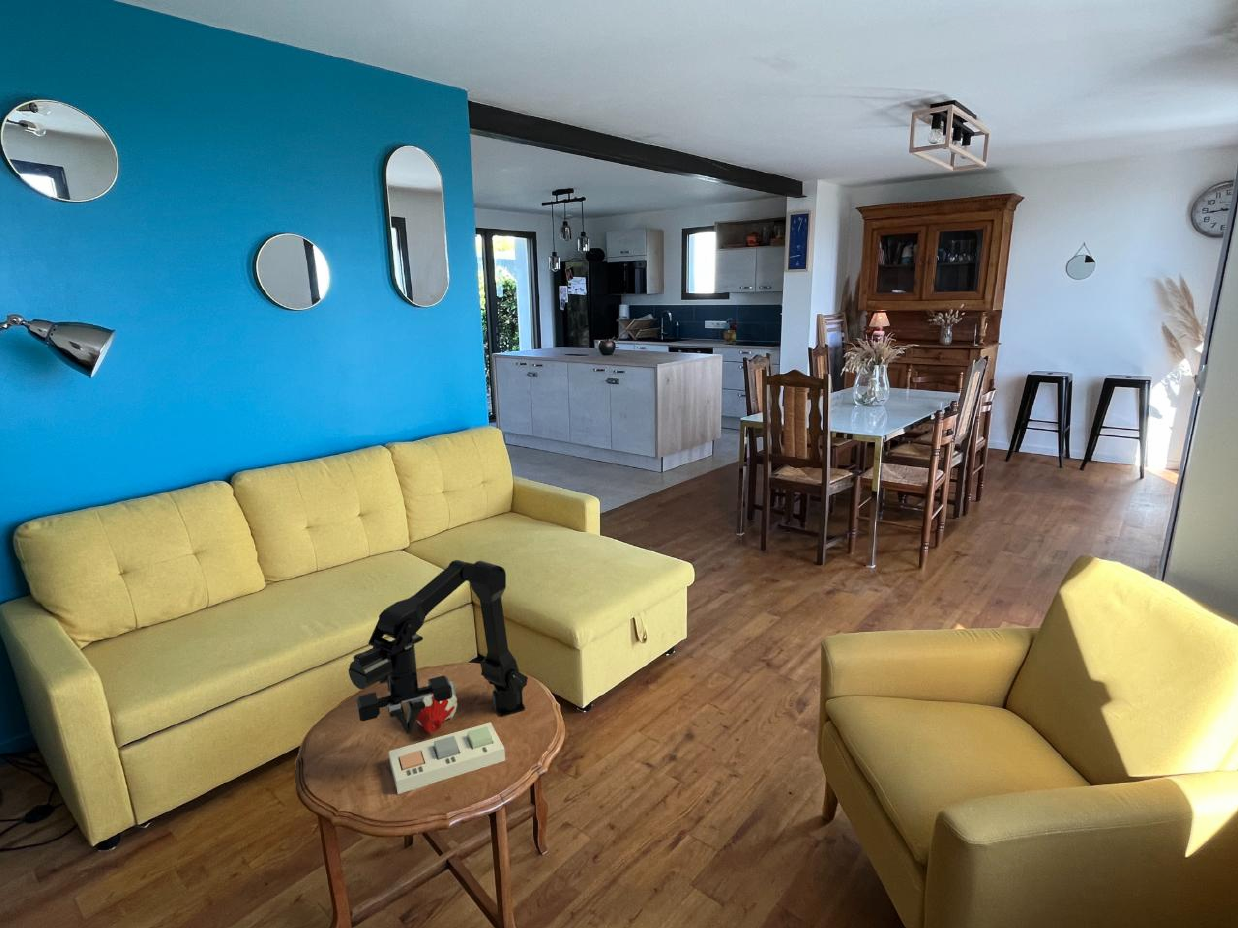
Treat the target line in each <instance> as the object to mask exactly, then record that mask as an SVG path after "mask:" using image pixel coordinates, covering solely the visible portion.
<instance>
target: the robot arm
mask: <svg viewBox="0 0 1238 928" xmlns="http://www.w3.org/2000/svg"><path fill="white" fill-rule="evenodd" d="M506 576H507V574H506V570H505V568H504V567H502V566H500V565H498V564H493V563H490V562H487V561H483V560H477V561H475V562H473V563H472V562H467V561H462V560H459V559H455V560H452V561H451V562H450V563H449V564H448V565H447V567H446V568H444V569H443V570H442V571H441V572H440V573H439V574H438V575H436V576H435V577H434V578H432V579H431V581H429V582H428V583H427V584H426V585H424V586H423V587H422V588H420V590H418V591H417V592H415V594H413V595H412V596H411V597H408V598H406V599H403V600H399V601H396V602H395V603H392V604H391V605H390V606H388V607H386V608H385V609H383V611H381V612H380V614H379V616H378V618H379V619H378V621H377V623H376V625H375V627H374V629H373V632H372V634H371V636H370V639H369V640H368V642H367V643H368V645H369V646H371V648H369V649H367V650H365V651H363V652H359V653H356V654H354V655H353V661H352V662H350V664H349V668H348V674H349V678H350V680H351V682H352V684H353V685H354V686H355V687H356V688H357V689H358V690H361V691H362V690H365V689H367V688H369V687H370V686H373V685H375V684H376V683H379V684H380V685H382V684H387V691H388V693H389V695H386V696H381V697H377V692H372V693H367V694H362V695H359V696H358V697H357V698H356V700H355V701H356V709H357V714H358V718H359V721H360V722H368V721H371V720H374V719H377V718H378V717H379V716H380V714H381V711H380V709H381V708H385V707H386V709H387V712H388V716H389V718H395V719H396V720H397V721H398V722H399V724H401V726H402V728H403V730H404V732H405V734H406V735H410V734H412V732H413V728H414V726H415V723H416V722H417V721H416V718H417V716H418V715H419V713H420V711H421V710H422V709H424V708H425V703H424V700H423V699H424V697H426V696H430V695H432V694H433V696H434V700H436V701H438V702H439V701H443V700H447V699H451V698H452V688H451V685H450V683H449V681H448V680H449V679H448V677H447V676H446V675H440V676H436V677H431V678H428V680H427V683H428V684H427V685H426V686H423V687H421V686H419V681H418V671H417V661H416V659H417V658H416V651H415V645H416V644H417V643H420V642H422V641H423V640H424V638H423V636H420V634H417V632H418V631H419V630H420V629H421V628H422V627H423V625H424V622H425V619H426V617H427V615H428V614H430V612H432V611H433V610H434V609H435V608H436V607H438V605H439V604H441V603H442V602H443V601H444V600H445V599H447V597H449V596H451V594H452V593H453V592H455V591H456V590H457V589H458V588H459V587H460V586H462V585H463V584H464V583H465V582H466V581H467V582H469V585H470V587H471V591H473V592H474V593H473V594H475V595H476V597H477V599H478V600H479V604H480V611H481V617H482V624H483V630H484V631H483V632H484V636H485V644H486V649H487V653H486V655H485V657H484V658H483V660H481V661H480V662H479V666H480V668H481V673H480V675H481V676H483V678H484V679H485V680H486V681H487V682H488V684H489V685H493V689H494V690H493V691H492V694H491V695H492V704H493V705H492V706H493V708H494V709H495V711H496V712H497V713H498V715H499V716H500V717H504V716H507V715H511V714H515V713H517V712H521V711H525V710H526V706H525V705H524V702H523V701H524V700H523V699H524V698H523V691H524V688H525V687H526V686H527V684H528V680H529V678H528V676H527V675H525V674H523V673H521V672H520V669H519V666H518V664H517V663H518V662H517V660H516V658H515V657H514V655H513V653H511V651H510V650H509V645H508V639H507V631H506V624H505V616H504V610H503V603H502V595H503V593H504V591H505V590H506V584H507V583H506V581H507V580H506V579H507V577H506ZM384 636H387V637H390V638H392V640H388V639H386V638H384ZM428 685H429V686H428ZM406 702H407V716H406V714H405V709H404V707H403V704H402V703H406Z"/></svg>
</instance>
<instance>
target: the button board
mask: <svg viewBox="0 0 1238 928" xmlns="http://www.w3.org/2000/svg"><path fill="white" fill-rule="evenodd" d="M486 726H487V728H488V730H489V732H490V734H491V736H492V744H489V745H486V746H483V747H479V748H476V749H473V750H472V748H471V745H470V743H469V741H468V731H472V730H475V729H479V728H482V727H486ZM451 736H454V737H455V740H456V742H457V745H458V748H459V754H456V755H453V756H449V757H446V758H443V759H439V760H438V758H437V755H436V752H435V748H434V741H437V740H440V739H444V738H447V737H451ZM505 750H506V749H505V746H504V745H503V743H502V741H501V739H500V737H499V735H498V733H497V732H496V729H495V728H494V726H493V724H492V722H486V723H483V724H479V725H476V726H472V727H469V728H465V729H462V730H459V731H455V732H451V733H449V734H445V735H441V736H438V737H434V738H431V739H427V740H423V741H421V742H417V743H413V744H410V745H406V746H402V747H400V748H395V749H392V750H390V751H388V757H389V758H388V760H389V764H390V765H389V766H390V769H391V773H392V777H393V780H394V785H395V789H396V791H397V792H396V793H397V795H401V794H403V793H406V792H409V791H412V790H416V789H418V788H422V787H425V786H428V785H431V784H434V783H438V782H440V781H444V780H448V779H451V778H454V777H457V776H460V775H463V774H466V773H470V772H473V771H476V770H479V769H483V768H486V767H489V766H493V765H496V764H498V763H502V762H505V761H506V752H505ZM416 751H420V752H421V755H422V758H423V761H424V764H423V765H419V766H416V767H413V768H409V769H406V770H403V771H402V769H401V766H400V758H399V756H403V755H406V754H409V753H413V752H416Z"/></svg>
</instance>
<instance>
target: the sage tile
mask: <svg viewBox="0 0 1238 928" xmlns="http://www.w3.org/2000/svg"><path fill="white" fill-rule="evenodd" d="M468 741H469V743H470V745H471V748H472V750H473V749H476V748H479V747H483V746H486V745H489V744H492V736H491V734H490V732H489V730H488V728H487V726H486V727H482V728H479V729H475V730H472V731H468Z"/></svg>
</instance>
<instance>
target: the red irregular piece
mask: <svg viewBox="0 0 1238 928" xmlns="http://www.w3.org/2000/svg"><path fill="white" fill-rule="evenodd" d="M448 681H449V683H450V685H451V688H452V698H451V699H447V700H443V701H439V702H438V701H436V700H434V696H433V694H432V695H430V696H426V697H424V699H423V700H424V703H425V708H424V709H422V710H421V711H420V713H419V715H418V716H417V718H416V721H415V722H417V724H418V725H419V726H420V727H422V728H424V731H425V732H426V733H428V734H432V733H435V732H437V731H438V730H440V729H441V728H442V726H443V724H444V723H445V721H446V720H447V721H448V719H453V717H454V715H455V713H456V711H457V707H458V702H457V701H458V698H457V696H456V695H457V690H456V684H455V682H454V681H452V680H451V679H448ZM427 686H429V685H428V684H427Z"/></svg>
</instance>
